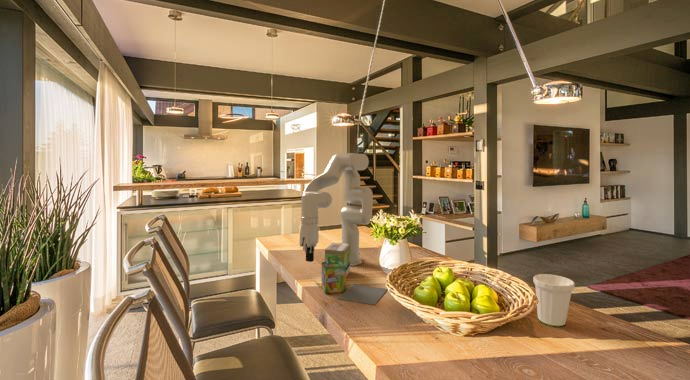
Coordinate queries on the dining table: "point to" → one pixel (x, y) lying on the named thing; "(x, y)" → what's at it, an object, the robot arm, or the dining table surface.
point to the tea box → (339, 254)
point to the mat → (363, 294)
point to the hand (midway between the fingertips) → (309, 260)
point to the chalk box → (333, 276)
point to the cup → (553, 298)
